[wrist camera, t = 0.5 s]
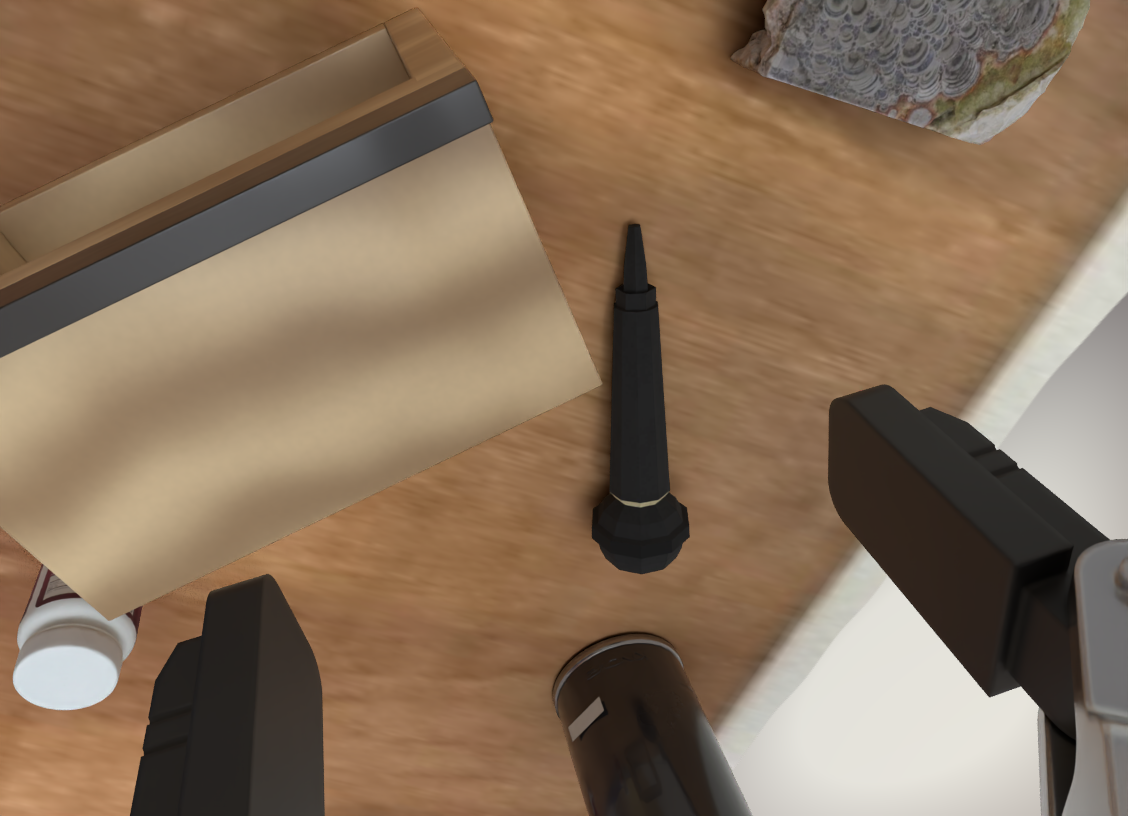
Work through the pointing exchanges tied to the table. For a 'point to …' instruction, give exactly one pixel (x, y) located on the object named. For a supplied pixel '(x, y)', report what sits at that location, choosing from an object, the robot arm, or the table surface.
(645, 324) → the microphone
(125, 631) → the pill bottle
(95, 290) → the shelf
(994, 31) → the geological specimen
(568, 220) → the table surface
